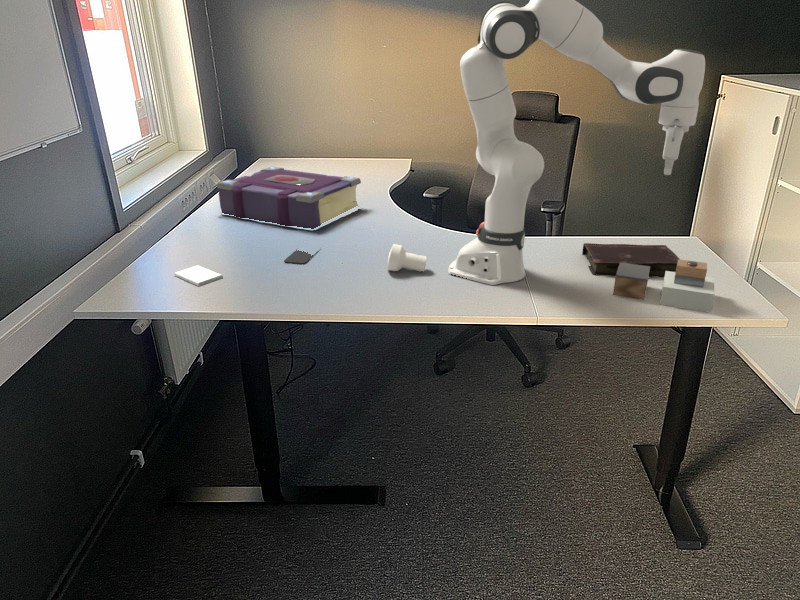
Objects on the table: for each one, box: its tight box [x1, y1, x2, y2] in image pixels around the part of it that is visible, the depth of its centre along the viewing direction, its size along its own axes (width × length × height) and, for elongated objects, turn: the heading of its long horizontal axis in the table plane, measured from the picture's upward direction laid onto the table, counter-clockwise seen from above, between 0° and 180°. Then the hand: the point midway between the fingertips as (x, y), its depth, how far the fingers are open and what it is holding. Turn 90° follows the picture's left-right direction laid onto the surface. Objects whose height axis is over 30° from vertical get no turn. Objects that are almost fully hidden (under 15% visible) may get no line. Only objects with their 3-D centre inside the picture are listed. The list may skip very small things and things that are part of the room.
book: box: [216, 166, 362, 229], centre depth 234 cm, size 33×45×14 cm
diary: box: [581, 242, 680, 278], centre depth 183 cm, size 19×25×5 cm
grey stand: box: [659, 271, 716, 313], centre depth 161 cm, size 12×12×5 cm
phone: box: [283, 249, 313, 265], centre depth 194 cm, size 7×1×15 cm
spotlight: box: [387, 243, 427, 273], centre depth 180 cm, size 8×11×8 cm
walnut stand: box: [612, 262, 650, 301], centre depth 166 cm, size 8×10×6 cm
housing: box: [674, 258, 708, 288], centre depth 159 cm, size 5×7×5 cm
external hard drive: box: [173, 264, 224, 287], centre depth 178 cm, size 2×8×12 cm
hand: (668, 170), depth 162 cm, fingers open, 8 cm apart
